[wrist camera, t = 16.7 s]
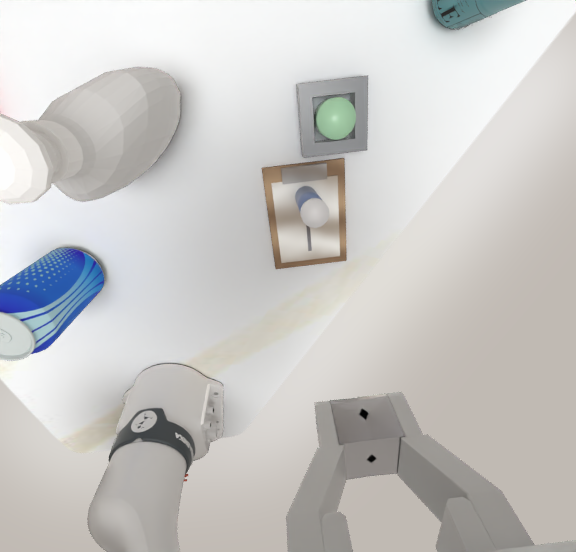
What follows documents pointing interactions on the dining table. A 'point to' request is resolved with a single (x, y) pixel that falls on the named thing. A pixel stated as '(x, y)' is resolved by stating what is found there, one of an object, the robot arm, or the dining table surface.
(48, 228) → the dining table surface
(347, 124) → the button
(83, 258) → the beer can
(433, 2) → the beverage bottle
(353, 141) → the button housing
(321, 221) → the marker
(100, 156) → the soap bottle
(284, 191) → the clipboard
